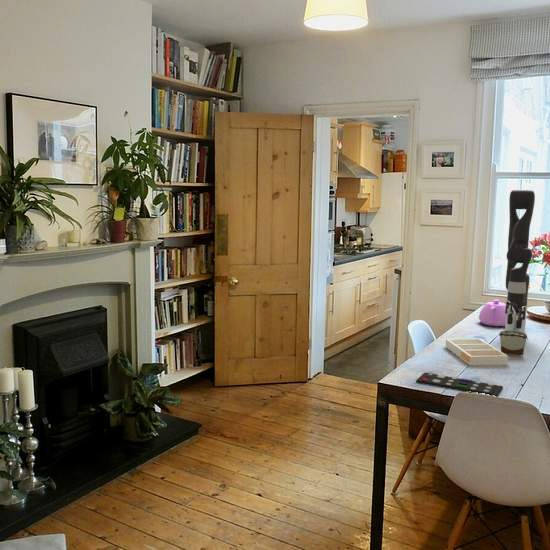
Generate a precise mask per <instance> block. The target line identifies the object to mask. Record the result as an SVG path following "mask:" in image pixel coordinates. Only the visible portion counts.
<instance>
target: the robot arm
mask: <svg viewBox="0 0 550 550" xmlns="http://www.w3.org/2000/svg"><path fill="white" fill-rule="evenodd" d="M535 201H536V195H535V191H534V190H533V189H513V190H511V191H510V192H509V199H508V202H509V203H508V204H509V206H508V207H509V209H508V210H509V212H508V213H509V224H508V225H509V226H508V227H509V228H508V238H507V239H508V240H507V251H506V252H507V253H506V260H507V264H506V265H507V266H506V274H505V289H506V290H507V295H506V296H507V297H506V298H507V299H506V301H505V304H506V309H505V314H506V324H505V326H504V329H505V330H504V331H519V332H523V333H525V334H526V323H527V309H528V295H529V287H530V275H529V274H528V269H529V265H530V263H531V261H532V258H533V251H532V248H531V249H530V248H529V240H530V230H531V229H530V228H531V222H532V219H533V214H534V208H535ZM517 210H525V212H524V214H522V216H521V217H520V218H519V215H518V212H517ZM517 264H522V265H521V266H518V267H516V266H517Z"/></svg>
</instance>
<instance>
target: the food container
mask: <svg viewBox="0 0 550 550" xmlns="http://www.w3.org/2000/svg"><path fill="white" fill-rule="evenodd" d="M498 337H499V339H500V340H499V342H500V343H499V344H500V351H501V352H502V353H504V354H506V355H509V354H511V355H510V356H517V355H522V356H521V357H523V356H524V352H525V347H526V342H527V340H528V334H527V333H526V332H525V333H523V332H519V331H505V330H501V331H500V332H499V334H498Z"/></svg>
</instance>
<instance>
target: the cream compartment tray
mask: <svg viewBox="0 0 550 550" xmlns="http://www.w3.org/2000/svg"><path fill="white" fill-rule="evenodd" d="M445 348H446V349H447V348H448V350H449V351H450V350H451V351H452V353H453V354H454V353H455V354H456V356H457V358H459V357H460V358H459V359H461V361H463V360H464V363H466V364H467V363H468V364H467V365H469V366H470V365H473V366H508V361H509V355H508V354H504V353H502V352H501V350H499V349H498V348H496V347H494V346H493V345H491V344H490V343H488V342H486V341H485V340H483V339H482V338H446V339H445ZM455 354H454V355H455Z"/></svg>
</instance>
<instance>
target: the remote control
mask: <svg viewBox="0 0 550 550" xmlns="http://www.w3.org/2000/svg"><path fill="white" fill-rule="evenodd" d="M415 383H416V384H417V383H418V384H423V385H427V384H428V386H433V387H438V386H439V388H444V387H445V389H449V388H451V390H455V389H457V390H456V391H461V392H466V391H471V392H478V393H485V394H489V395H495V396H497V397H498V396H499V395H500V393H501V392H502V390H503V388H504V387H503V385H500V384H499V385H498V384H493V383H487V382H482V381H478V380H477V381H475V380H472V379H467V378H458V377H456V376H454V377H453V376H447V375H442V374H437V373H430V372H423V374H422V375H420V376H419V377H418V378H417V379H416V380H415ZM471 392H470V393H471Z"/></svg>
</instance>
